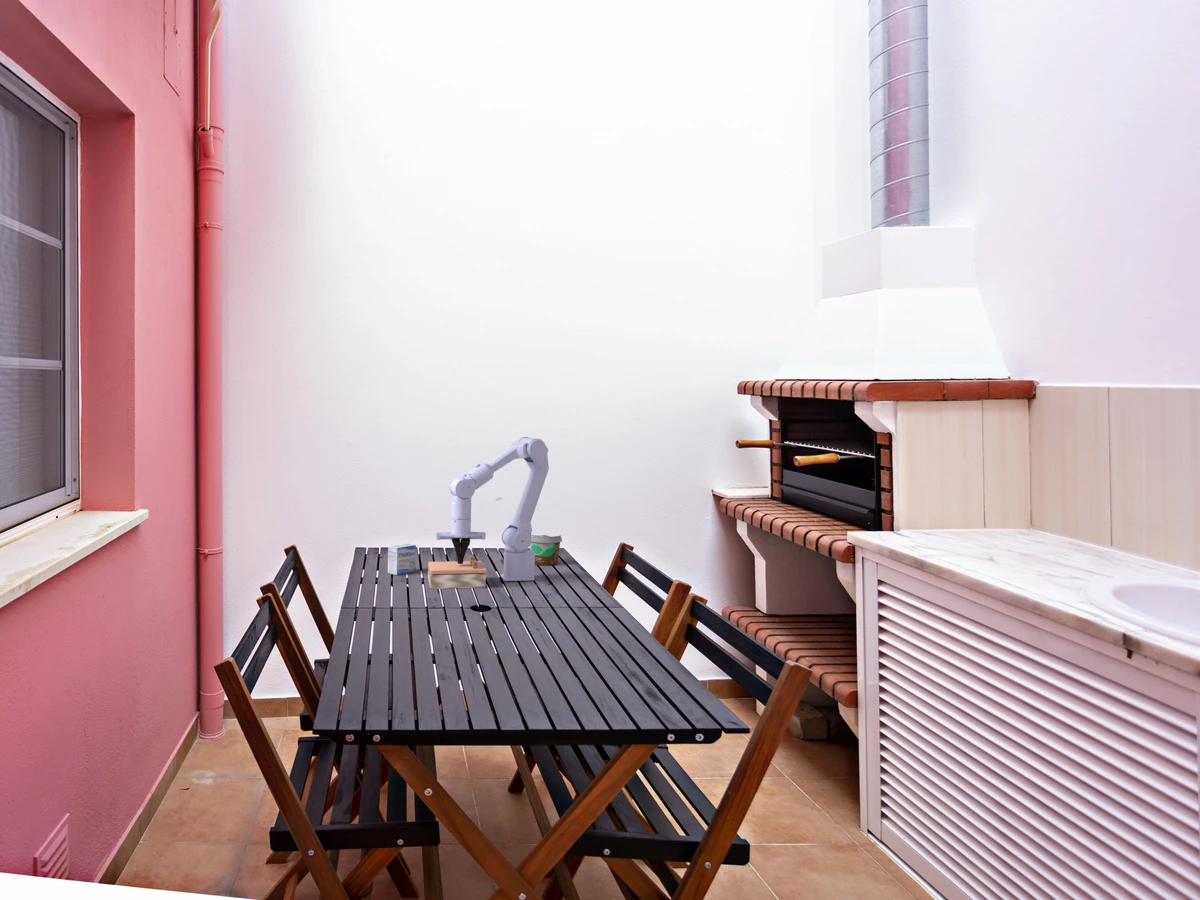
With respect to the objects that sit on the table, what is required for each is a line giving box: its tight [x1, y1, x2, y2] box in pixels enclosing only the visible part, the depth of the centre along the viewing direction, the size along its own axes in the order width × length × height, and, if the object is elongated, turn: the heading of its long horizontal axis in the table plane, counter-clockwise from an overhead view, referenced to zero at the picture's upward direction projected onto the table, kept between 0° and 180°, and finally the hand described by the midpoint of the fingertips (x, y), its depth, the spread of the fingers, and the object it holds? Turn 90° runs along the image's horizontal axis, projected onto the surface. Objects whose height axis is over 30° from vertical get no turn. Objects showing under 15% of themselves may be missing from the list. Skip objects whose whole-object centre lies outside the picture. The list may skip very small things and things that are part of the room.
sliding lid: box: [427, 555, 487, 574], centre depth 263 cm, size 16×13×3 cm
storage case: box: [427, 566, 487, 590], centre depth 263 cm, size 16×13×4 cm
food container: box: [529, 534, 563, 567], centre depth 295 cm, size 12×6×10 cm, turn 68°
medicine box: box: [387, 543, 417, 576], centre depth 275 cm, size 8×4×9 cm, turn 143°
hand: (460, 563), depth 263 cm, fingers closed
